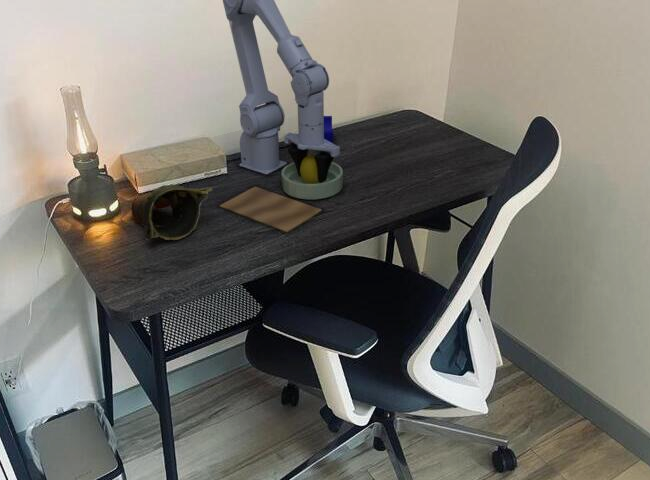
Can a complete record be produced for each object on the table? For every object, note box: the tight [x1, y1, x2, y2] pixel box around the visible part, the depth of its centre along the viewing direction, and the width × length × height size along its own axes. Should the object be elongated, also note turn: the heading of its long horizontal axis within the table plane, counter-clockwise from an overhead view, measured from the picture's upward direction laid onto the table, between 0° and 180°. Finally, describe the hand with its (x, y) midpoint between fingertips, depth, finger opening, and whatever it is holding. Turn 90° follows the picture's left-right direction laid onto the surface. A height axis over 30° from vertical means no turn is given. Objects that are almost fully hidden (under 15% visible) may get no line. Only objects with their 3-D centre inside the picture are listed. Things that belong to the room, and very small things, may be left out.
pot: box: [130, 183, 213, 241], centre depth 142 cm, size 17×11×18 cm
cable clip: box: [324, 115, 334, 144], centre depth 176 cm, size 12×4×6 cm, turn 179°
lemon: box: [300, 153, 319, 184], centre depth 155 cm, size 6×6×8 cm
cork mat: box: [218, 186, 323, 233], centre depth 149 cm, size 20×12×1 cm, turn 51°
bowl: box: [280, 161, 344, 200], centre depth 156 cm, size 14×14×4 cm
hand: (312, 177), depth 156 cm, fingers closed on lemon, 5 cm apart
